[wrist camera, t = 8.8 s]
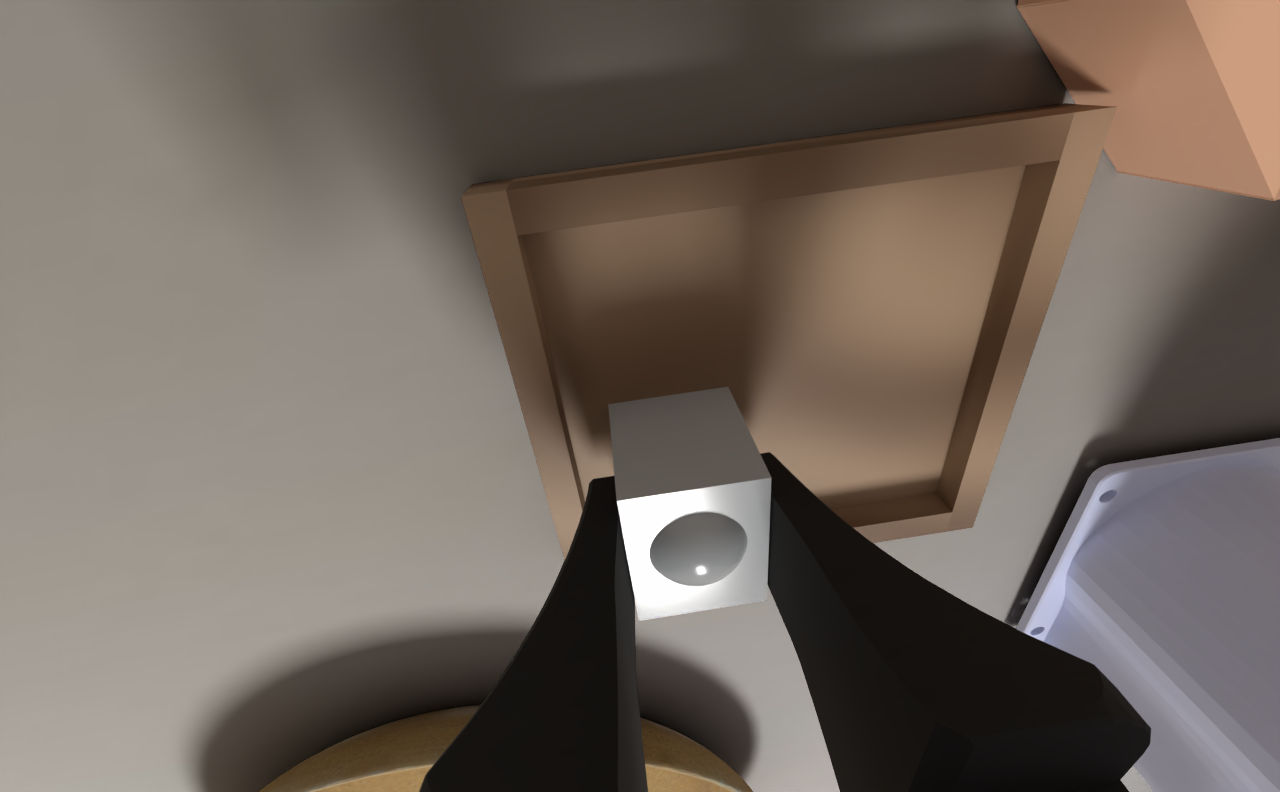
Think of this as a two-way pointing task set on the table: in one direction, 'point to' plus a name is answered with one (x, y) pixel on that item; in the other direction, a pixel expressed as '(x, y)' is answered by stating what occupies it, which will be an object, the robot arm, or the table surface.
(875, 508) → the tray
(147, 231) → the table surface
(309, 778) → the plant saucer
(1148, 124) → the bowl
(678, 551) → the white cube with dimple
